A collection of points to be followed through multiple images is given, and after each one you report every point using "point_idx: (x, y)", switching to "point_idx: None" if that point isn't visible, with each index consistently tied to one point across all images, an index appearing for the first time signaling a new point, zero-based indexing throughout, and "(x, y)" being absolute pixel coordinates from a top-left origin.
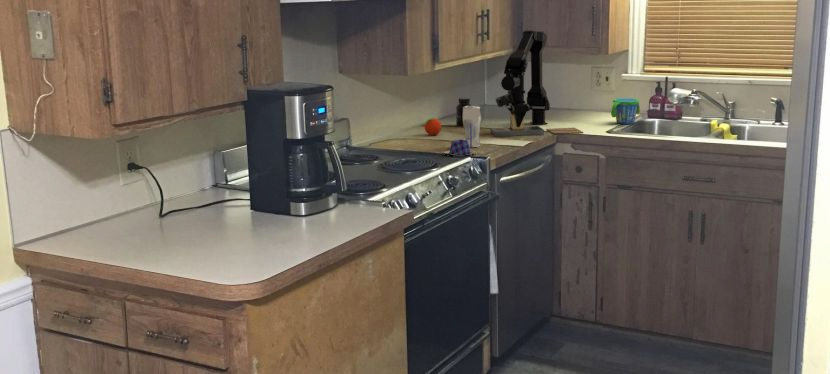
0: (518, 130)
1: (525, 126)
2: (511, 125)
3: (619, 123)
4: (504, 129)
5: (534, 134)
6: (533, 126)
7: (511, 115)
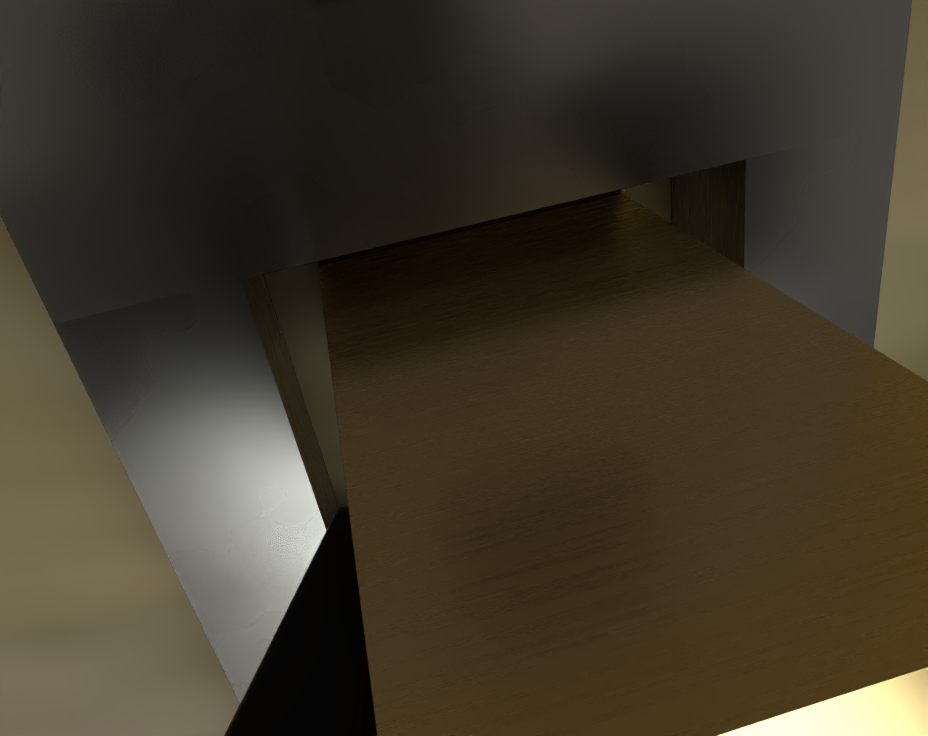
0: (191, 502)
1: None
2: (524, 334)
3: None
4: (425, 17)
5: None
6: None
7: (737, 647)
